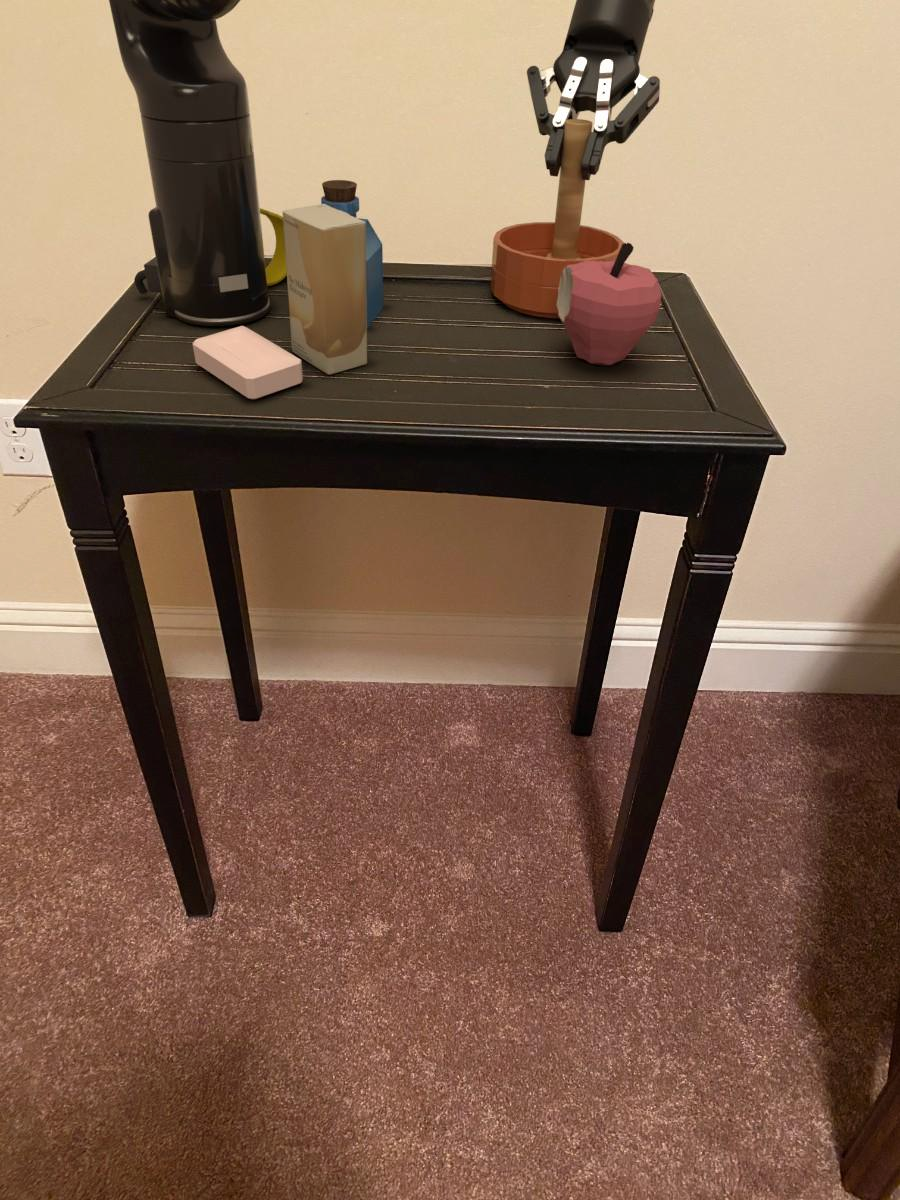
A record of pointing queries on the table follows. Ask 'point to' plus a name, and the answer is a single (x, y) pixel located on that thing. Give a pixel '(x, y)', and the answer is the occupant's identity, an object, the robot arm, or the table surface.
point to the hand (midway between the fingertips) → (569, 172)
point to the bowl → (540, 264)
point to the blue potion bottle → (344, 199)
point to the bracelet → (276, 250)
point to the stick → (570, 190)
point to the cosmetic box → (326, 286)
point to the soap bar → (248, 362)
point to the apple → (607, 306)
